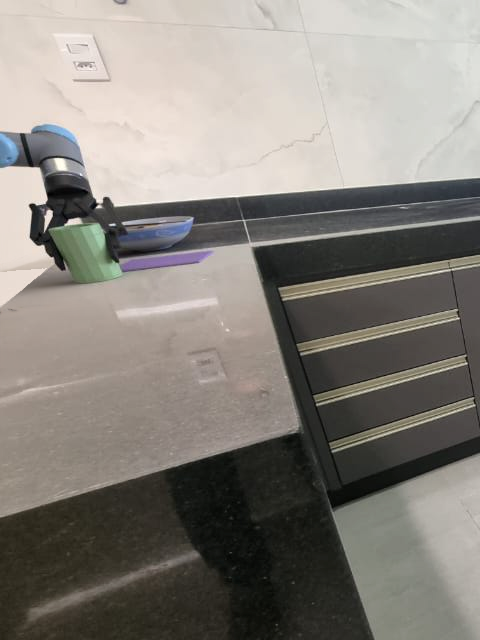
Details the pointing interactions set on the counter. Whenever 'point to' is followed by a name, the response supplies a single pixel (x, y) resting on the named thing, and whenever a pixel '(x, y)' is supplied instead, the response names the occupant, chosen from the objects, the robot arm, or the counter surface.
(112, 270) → the green faceted cylinder
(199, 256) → the towel
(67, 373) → the counter surface
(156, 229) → the ramen bowl
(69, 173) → the robot arm
